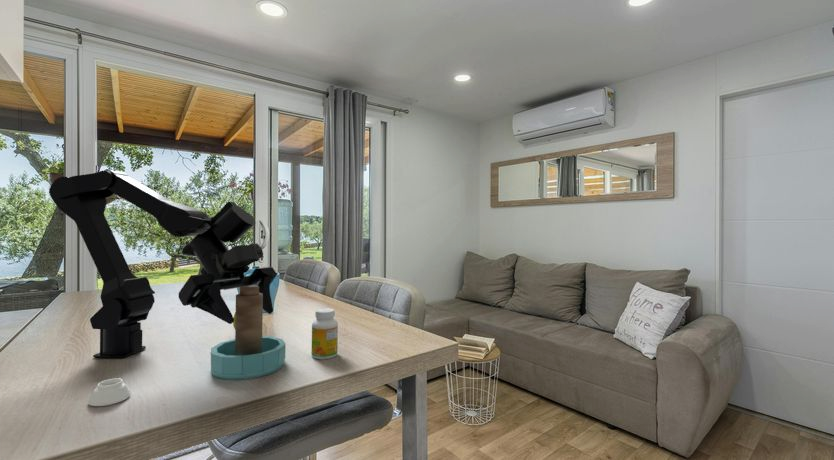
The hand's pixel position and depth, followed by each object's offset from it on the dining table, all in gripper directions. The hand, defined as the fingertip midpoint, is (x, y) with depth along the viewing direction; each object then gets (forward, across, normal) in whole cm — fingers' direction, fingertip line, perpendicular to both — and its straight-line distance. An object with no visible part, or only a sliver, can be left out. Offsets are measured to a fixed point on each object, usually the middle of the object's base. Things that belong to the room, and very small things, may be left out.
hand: (252, 317), depth 73 cm
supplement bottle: (+13, +12, +2) cm, 17 cm away
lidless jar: (+1, -20, +13) cm, 24 cm away
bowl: (+6, 0, +8) cm, 10 cm away
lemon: (-6, +14, +20) cm, 25 cm away
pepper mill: (+5, 0, +7) cm, 9 cm away
